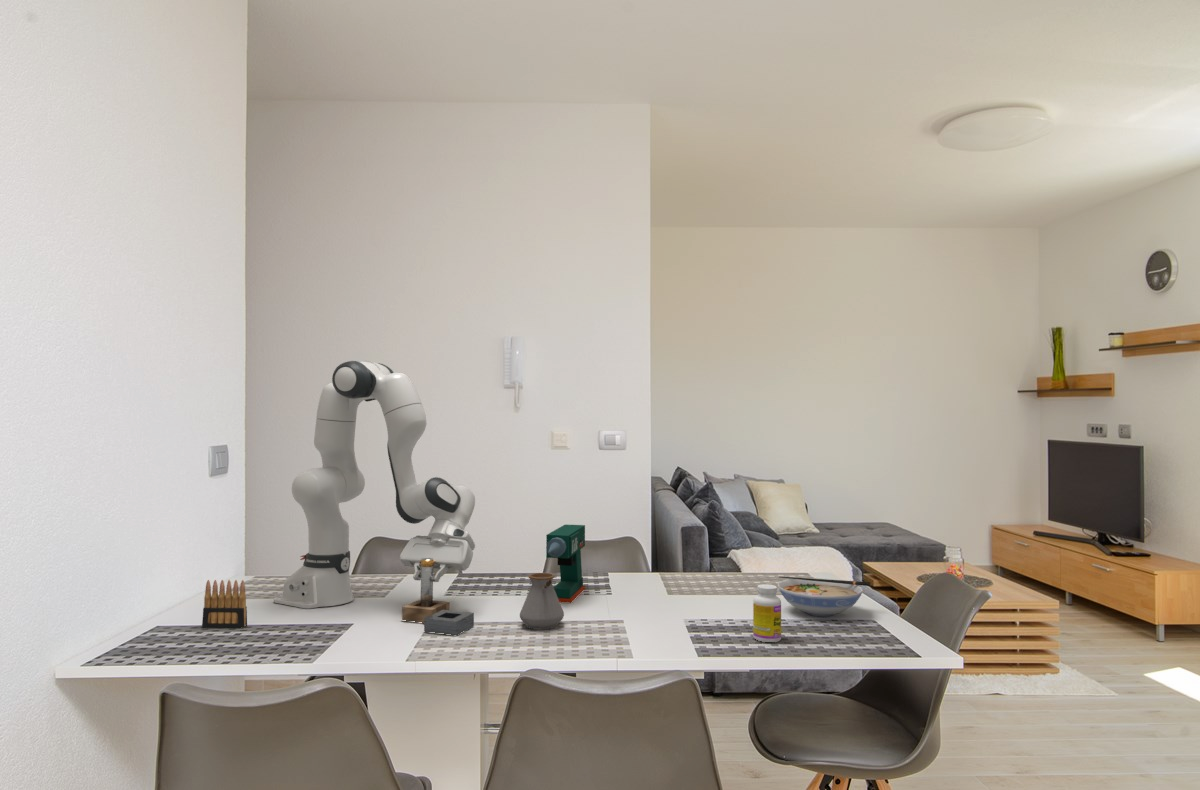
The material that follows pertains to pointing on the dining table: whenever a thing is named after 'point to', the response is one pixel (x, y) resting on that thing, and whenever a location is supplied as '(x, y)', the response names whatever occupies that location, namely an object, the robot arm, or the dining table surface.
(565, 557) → the power tool
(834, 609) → the ramen bowl
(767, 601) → the supplement bottle
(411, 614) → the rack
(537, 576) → the coffee pot
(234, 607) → the ammunition clip
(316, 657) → the dining table surface
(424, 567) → the grey capped tube
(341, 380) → the robot arm
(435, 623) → the socket block
